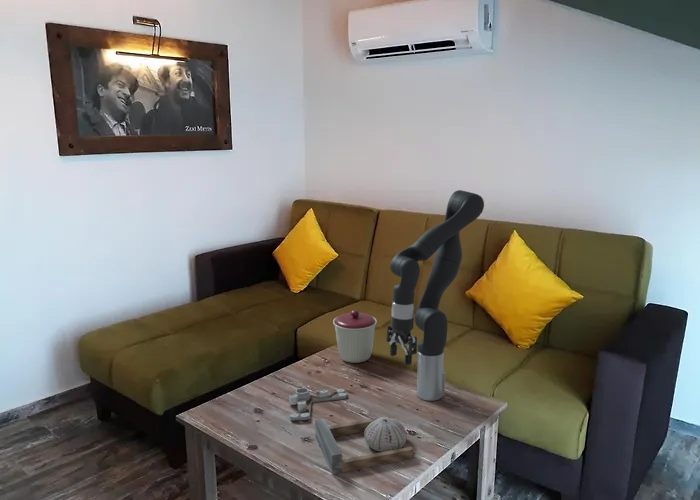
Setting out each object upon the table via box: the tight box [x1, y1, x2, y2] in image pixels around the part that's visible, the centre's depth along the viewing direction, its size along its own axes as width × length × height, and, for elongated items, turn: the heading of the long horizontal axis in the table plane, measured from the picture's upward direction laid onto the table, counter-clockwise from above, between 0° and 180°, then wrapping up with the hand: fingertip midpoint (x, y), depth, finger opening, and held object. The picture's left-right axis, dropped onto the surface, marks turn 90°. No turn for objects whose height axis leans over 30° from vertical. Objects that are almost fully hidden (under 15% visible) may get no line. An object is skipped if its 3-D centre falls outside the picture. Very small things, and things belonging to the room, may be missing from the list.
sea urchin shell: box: [363, 416, 408, 453], centre depth 176 cm, size 13×14×8 cm
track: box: [314, 415, 414, 475], centre depth 174 cm, size 25×20×6 cm
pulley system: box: [288, 387, 348, 422], centre depth 202 cm, size 27×5×15 cm
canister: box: [332, 309, 378, 364], centre depth 236 cm, size 18×18×21 cm
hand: (400, 359), depth 194 cm, fingers open, 8 cm apart
